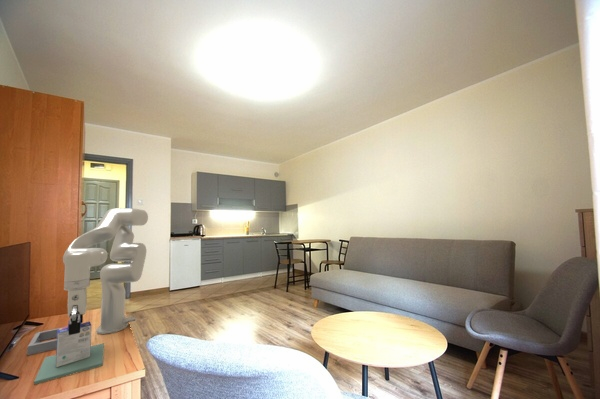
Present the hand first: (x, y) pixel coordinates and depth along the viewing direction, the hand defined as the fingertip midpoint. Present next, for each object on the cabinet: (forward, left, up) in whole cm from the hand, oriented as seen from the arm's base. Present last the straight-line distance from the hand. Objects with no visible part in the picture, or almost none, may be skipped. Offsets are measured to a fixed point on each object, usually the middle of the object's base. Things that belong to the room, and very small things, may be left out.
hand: (75, 328), depth 98 cm
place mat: (0, +1, -12) cm, 12 cm away
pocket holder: (+8, -24, -12) cm, 29 cm away
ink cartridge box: (0, 0, -12) cm, 12 cm away
